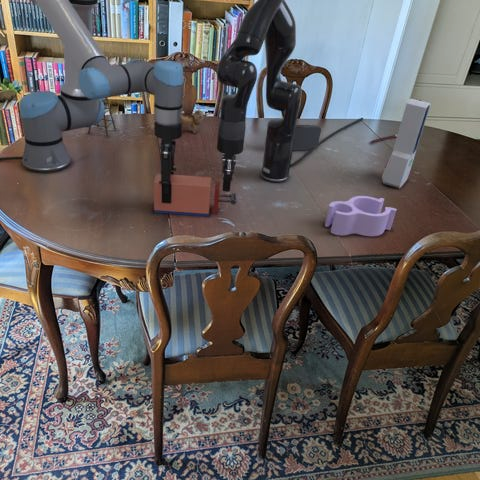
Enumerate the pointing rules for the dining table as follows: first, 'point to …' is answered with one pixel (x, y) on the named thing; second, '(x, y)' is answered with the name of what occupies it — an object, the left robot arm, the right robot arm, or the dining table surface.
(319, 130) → the handheld gaming console
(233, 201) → the drawer
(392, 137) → the sword
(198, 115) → the lion figurine
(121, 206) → the dining table surface
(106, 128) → the miniature windmill
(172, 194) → the cabinet
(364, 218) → the clip
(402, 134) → the electronic device
